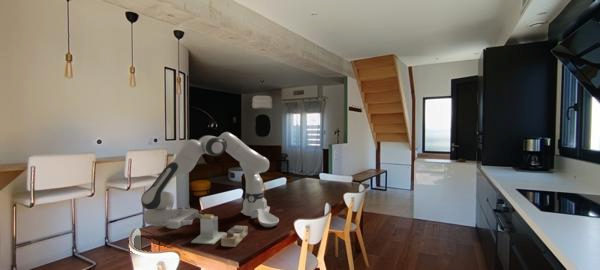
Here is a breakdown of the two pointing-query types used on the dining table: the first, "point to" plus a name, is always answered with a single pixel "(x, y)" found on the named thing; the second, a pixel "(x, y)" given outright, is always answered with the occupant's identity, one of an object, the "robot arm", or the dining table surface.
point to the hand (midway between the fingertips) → (197, 219)
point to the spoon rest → (265, 218)
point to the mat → (208, 241)
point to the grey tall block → (209, 226)
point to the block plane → (234, 236)
